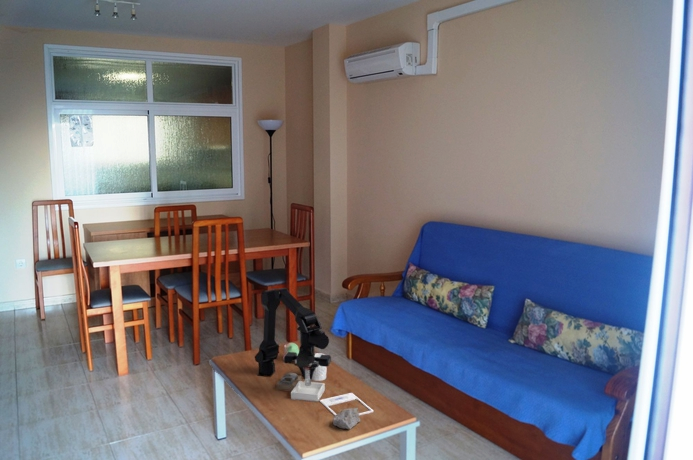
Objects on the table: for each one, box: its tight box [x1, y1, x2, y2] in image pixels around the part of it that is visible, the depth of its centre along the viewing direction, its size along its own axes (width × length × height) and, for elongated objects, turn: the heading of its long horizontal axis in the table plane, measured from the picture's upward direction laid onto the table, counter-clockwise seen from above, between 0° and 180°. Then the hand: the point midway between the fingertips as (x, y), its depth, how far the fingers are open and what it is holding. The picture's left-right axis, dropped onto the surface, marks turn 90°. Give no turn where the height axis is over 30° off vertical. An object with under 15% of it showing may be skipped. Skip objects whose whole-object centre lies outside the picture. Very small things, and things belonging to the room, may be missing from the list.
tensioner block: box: [275, 372, 303, 392], centre depth 240 cm, size 10×8×4 cm
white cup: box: [309, 352, 328, 382], centre depth 247 cm, size 8×8×10 cm
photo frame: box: [319, 392, 374, 417], centre depth 221 cm, size 15×1×18 cm
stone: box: [332, 407, 361, 430], centre depth 207 cm, size 8×10×6 cm
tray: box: [290, 380, 326, 403], centre depth 231 cm, size 11×11×3 cm
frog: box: [283, 342, 300, 363], centre depth 267 cm, size 12×10×9 cm
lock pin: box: [304, 364, 312, 386], centre depth 230 cm, size 3×3×8 cm
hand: (307, 379), depth 231 cm, fingers closed on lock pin, 2 cm apart
